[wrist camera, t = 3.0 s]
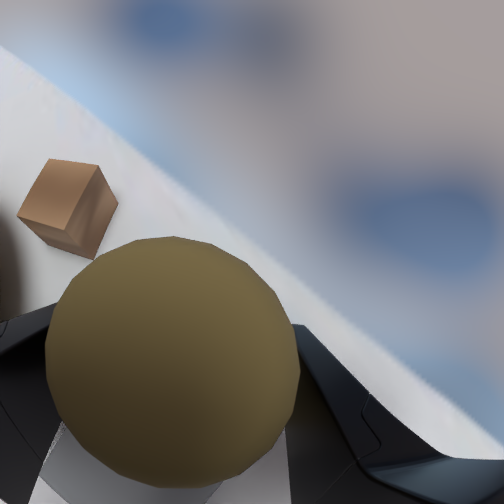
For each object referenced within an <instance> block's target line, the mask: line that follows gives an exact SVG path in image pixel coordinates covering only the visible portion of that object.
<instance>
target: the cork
mask: <svg viewBox="0 0 504 504" xmlns="http://www.w3.org/2000/svg"><path fill="white" fill-rule="evenodd" d="M45 358H46V378H47V382H48V386H49V389H50V392H51V395H52V398H53V400H54V403H55V406H56V409H57V411H58V414H59V416H60V418H61V419H62V421H63V422H64V423H65V425H66V426H67V428H68V429H69V430H70V432H71V433H72V435H73V436H74V437H75V439H76V440H77V441H78V442H79V444H80V445H81V446H82V447H83V448H84V449H85V450H86V451H87V452H88V453H90V454H91V455H92V456H93V457H95V458H96V459H97V460H99V461H100V462H101V463H103V464H104V465H106V466H107V467H108V468H110V469H111V470H113V471H114V472H116V473H117V474H118V475H121V476H123V477H126V478H129V479H132V480H135V481H137V482H140V483H143V484H147V485H150V486H153V487H156V488H170V489H192V488H203V487H206V486H209V485H212V484H215V483H218V482H221V481H224V480H226V479H229V478H232V477H235V476H237V475H240V474H241V473H242V472H244V471H245V470H246V469H247V468H249V467H250V466H251V465H252V464H254V463H255V462H256V461H257V460H259V459H260V458H261V457H262V456H263V455H265V454H266V453H267V452H268V451H269V450H270V449H272V447H273V446H274V444H275V442H276V441H277V439H278V437H279V436H280V434H281V432H282V430H283V429H284V427H285V425H286V424H287V422H288V420H289V418H290V417H291V415H292V413H293V409H294V404H295V399H296V393H297V388H298V382H299V377H300V365H299V358H298V352H297V345H296V339H295V332H294V328H293V326H292V324H291V323H290V321H289V319H288V317H287V315H286V313H285V311H284V309H283V307H282V305H281V303H280V301H279V299H278V297H277V295H276V293H275V292H274V291H273V290H272V289H271V288H270V287H269V286H268V284H267V283H266V282H265V281H264V280H263V279H262V278H261V277H260V276H259V275H258V274H257V273H256V272H255V271H254V270H253V269H252V268H251V267H250V266H249V265H248V264H247V263H246V262H244V261H242V260H240V259H238V258H236V257H235V256H233V255H231V254H229V253H227V252H225V251H223V250H222V249H220V248H218V247H216V246H214V245H212V244H209V243H204V242H199V241H195V240H190V239H185V238H180V237H175V236H171V237H161V238H151V239H141V240H135V241H133V242H130V243H128V244H126V245H123V246H121V247H119V248H116V249H114V250H112V251H109V252H107V253H105V254H102V255H100V256H99V257H98V258H96V259H95V260H94V261H93V262H92V263H90V264H89V265H88V266H87V267H86V268H85V269H83V270H82V271H81V272H80V273H79V274H78V275H77V276H75V277H74V278H73V279H72V281H71V282H70V284H69V285H68V287H67V289H66V290H65V292H64V293H63V295H62V297H61V298H60V300H59V301H58V303H57V305H56V306H55V308H54V311H53V315H52V318H51V322H50V326H49V329H48V333H47V337H46V342H45Z"/></svg>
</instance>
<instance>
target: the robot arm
mask: <svg viewBox="0 0 504 504" xmlns="http://www.w3.org/2000/svg"><path fill="white" fill-rule="evenodd" d="M57 303H58V302H57ZM57 303H54V304H52V305H49V306H46V307H43V308H40V309H38V310H35V311H32V312H29V313H27V314H24V315H21V316H18V317H16V318H13V319H10V320H9V321H4V322H2V323H0V499H1V500H2V501H4V502H5V503H7V504H28V503H29V500H30V497H31V494H32V491H33V489H34V486H35V483H36V481H37V478H38V475H39V473H40V470H41V468H42V465H43V462H44V460H45V458H46V455H47V453H48V450H49V448H50V446H51V443H52V441H53V439H54V437H55V434H56V432H57V430H58V428H59V426H60V423H61V421H62V419H61V418H60V416H59V414H58V411H57V409H56V406H55V403H54V400H53V398H52V395H51V392H50V389H49V386H48V382H47V378H46V358H45V342H46V337H47V333H48V329H49V326H50V322H51V318H52V315H53V311H54V308H55V306H56V305H57ZM292 326H293V328H294V332H295V339H296V345H297V352H298V358H299V365H300V377H299V382H298V388H297V393H296V399H295V404H294V409H293V413H292V415H291V417H290V418H289V420H288V422H287V424H286V425H285V434H286V445H287V456H288V467H289V479H290V491H291V504H504V460H482V459H463V458H454V457H450V456H447V455H444V454H442V453H440V452H438V451H437V450H436V449H434V448H433V447H431V446H430V445H429V444H428V443H426V442H425V441H424V440H423V439H421V438H420V437H419V436H418V435H416V434H415V433H414V432H413V431H411V430H410V429H409V428H408V427H406V426H405V425H404V424H403V423H402V422H400V421H399V420H398V419H397V418H396V417H395V416H393V415H392V414H391V413H390V412H389V411H388V410H387V409H386V408H385V407H384V406H383V405H382V404H381V403H380V402H379V401H378V400H377V399H376V398H375V397H374V396H373V395H372V394H369V391H368V390H367V389H366V388H365V387H364V386H363V385H362V384H361V383H360V382H359V381H358V380H357V379H356V378H355V377H354V376H353V375H352V374H351V373H350V372H349V371H348V370H347V369H346V368H345V367H344V366H343V365H342V364H341V363H340V362H339V361H338V360H337V359H336V358H335V356H334V355H333V354H332V353H331V352H330V351H329V350H328V349H327V348H326V347H325V346H324V345H323V344H322V343H321V342H320V341H319V340H318V339H317V338H316V337H315V336H314V335H313V334H312V333H311V332H310V331H309V330H308V329H307V327H306V326H304V325H298V324H292Z"/></svg>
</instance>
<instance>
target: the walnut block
mask: <svg viewBox="0 0 504 504" xmlns="http://www.w3.org/2000/svg"><path fill="white" fill-rule="evenodd" d="M117 205H118V202H117V200H116V198H115V196H114V195H113V193H112V191H111V189H110V187H109V185H108V183H107V181H106V179H105V177H104V175H103V173H102V172H101V170H100V168H99V166H98V165H93V164H86V163H79V162H72V161H64V160H56V159H49V160H48V161H47V163H46V164H45V166H44V168H43V169H42V171H41V172H40V174H39V176H38V177H37V179H36V181H35V182H34V184H33V186H32V188H31V189H30V191H29V193H28V195H27V197H26V198H25V200H24V202H23V204H22V206H21V208H20V210H19V212H18V214H17V217H18V218H19V219H20V220H21V221H22V222H23V223H24V224H26V225H27V226H28V227H29V228H30V229H31V230H32V231H33V232H34V233H35V234H36V235H37V236H38V237H39V238H41V239H42V240H43V241H44V242H45V243H46V244H47V245H49V246H52V247H55V248H58V249H61V250H64V251H67V252H70V253H73V254H76V255H79V256H82V257H85V258H88V259H91V260H94V258H95V255H96V253H97V250H98V248H99V245H100V243H101V241H102V238H103V236H104V234H105V231H106V229H107V227H108V225H109V223H110V220H111V218H112V216H113V214H114V212H115V210H116V207H117Z"/></svg>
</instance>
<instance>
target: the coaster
mask: <svg viewBox="0 0 504 504" xmlns="http://www.w3.org/2000/svg"><path fill="white" fill-rule="evenodd" d="M39 476H40V477H41V478H42V479H43V480H44V481H45V482H46V483H47V484H48V485H49V486H50V487H51V488H52V489H53V490H54V491H55V492H56V493H58V494H59V495H60V496H61V497H62V498H63V499H64V500H65V501H67V502H68V503H69V504H205V502H206V501H207V500H208V499H209V498H210V496H211V495H212V494H213V493H214V492H215V490H216V489H217V488H218V487H219V486H220V484H221V483H222V482H223V481H221V482H218V483H215V484H212V485H209V486H206V487H203V488H192V489H170V488H156V487H153V486H150V485H147V484H143V483H140V482H137V481H135V480H132V479H129V478H126V477H123V476H121V475H118V474H117V473H116V472H114V471H113V470H111V469H110V468H108V467H107V466H106V465H104V464H103V463H101V462H100V461H99V460H97V459H96V458H95V457H93V456H92V455H91V454H90V453H88V452H87V451H86V450H85V449H84V448H83V447H82V446H81V445H80V444H79V442H78V441H77V440H76V439H75V437H74V436H73V435H72V433H71V432H70V430H69V429H68V428H66V429H65V431H64V432H63V434H62V436H61V437H60V439H59V440H58V442H57V444H56V445H55V447H54V449H53V450H52V452H51V454H50V455H49V457H48V459H47V460H46V462H45V464H44V466H43V467H42V469H41V471H40V473H39Z"/></svg>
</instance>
